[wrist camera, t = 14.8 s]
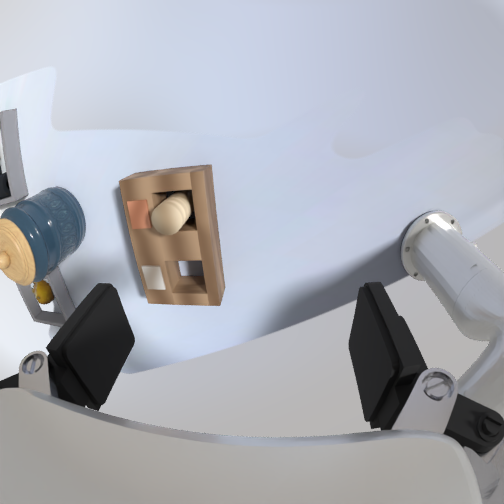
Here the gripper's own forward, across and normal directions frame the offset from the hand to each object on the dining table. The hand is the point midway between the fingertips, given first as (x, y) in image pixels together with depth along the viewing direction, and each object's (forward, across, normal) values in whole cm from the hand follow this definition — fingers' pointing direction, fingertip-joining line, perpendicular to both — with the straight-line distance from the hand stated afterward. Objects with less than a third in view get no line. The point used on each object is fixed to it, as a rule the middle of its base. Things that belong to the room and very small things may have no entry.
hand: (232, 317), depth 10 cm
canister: (+31, +37, +5) cm, 48 cm away
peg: (+30, +12, +4) cm, 33 cm away
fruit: (+31, +52, +20) cm, 64 cm away
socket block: (+30, +13, +9) cm, 34 cm away
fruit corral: (+30, +50, +22) cm, 62 cm away
